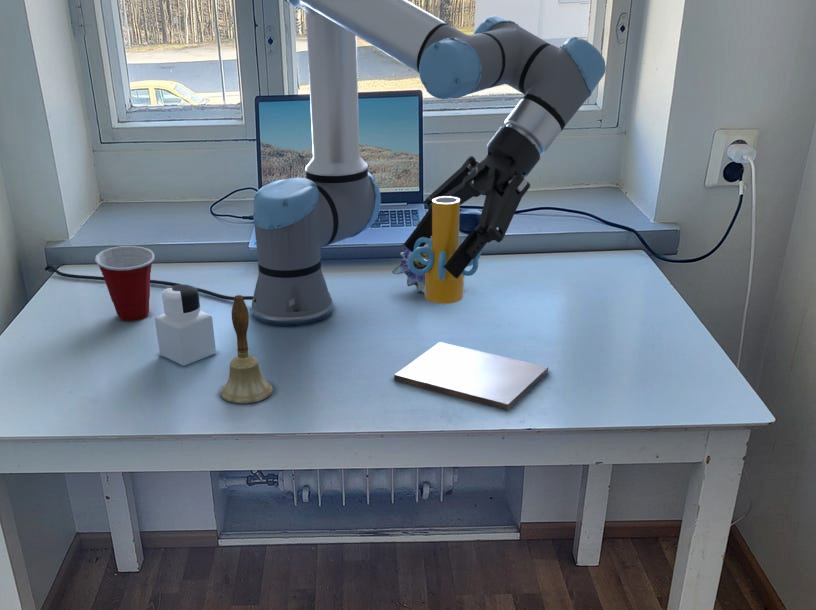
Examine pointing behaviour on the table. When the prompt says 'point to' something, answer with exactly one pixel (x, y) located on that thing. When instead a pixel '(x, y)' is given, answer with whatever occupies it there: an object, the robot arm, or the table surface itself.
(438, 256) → the cylinder
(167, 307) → the medicine bottle
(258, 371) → the hand bell
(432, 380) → the plate
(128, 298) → the plastic cup
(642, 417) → the table surface
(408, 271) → the passion flower
